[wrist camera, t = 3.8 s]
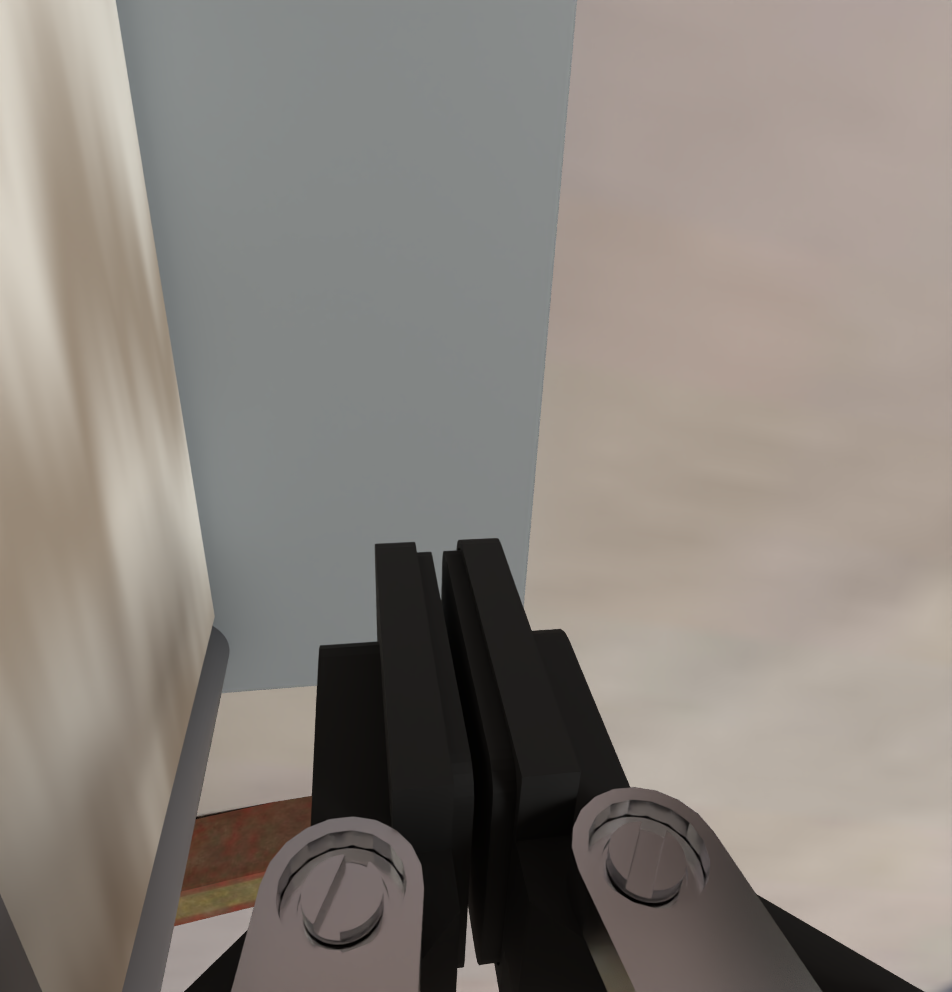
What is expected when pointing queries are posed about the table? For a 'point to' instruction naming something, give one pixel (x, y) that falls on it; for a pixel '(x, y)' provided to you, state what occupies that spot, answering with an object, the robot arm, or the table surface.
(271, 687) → the gray panel stand
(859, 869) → the table surface
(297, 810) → the miniature gate
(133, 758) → the gate
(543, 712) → the robot arm
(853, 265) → the table surface
